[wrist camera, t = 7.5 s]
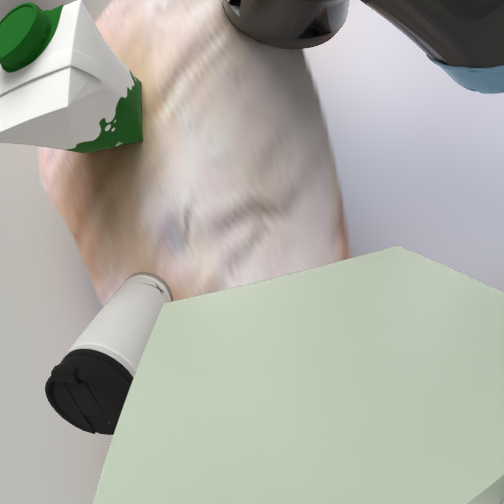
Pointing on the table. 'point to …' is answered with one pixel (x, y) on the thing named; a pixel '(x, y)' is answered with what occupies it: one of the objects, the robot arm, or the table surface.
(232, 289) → the mint green block
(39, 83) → the milk carton
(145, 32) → the table surface
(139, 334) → the travel mug
